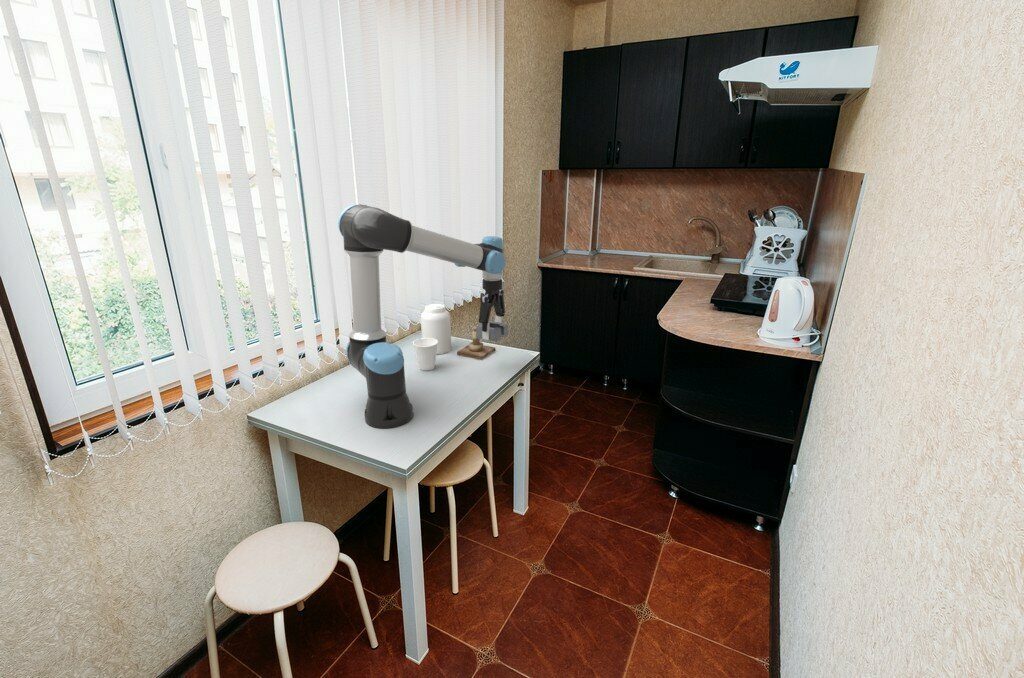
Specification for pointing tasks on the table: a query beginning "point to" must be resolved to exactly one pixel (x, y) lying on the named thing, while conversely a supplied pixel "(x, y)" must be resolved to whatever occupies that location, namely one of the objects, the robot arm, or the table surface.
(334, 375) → the table surface
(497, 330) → the grey split frame
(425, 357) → the cup
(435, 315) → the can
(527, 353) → the table surface
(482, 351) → the post fixture
